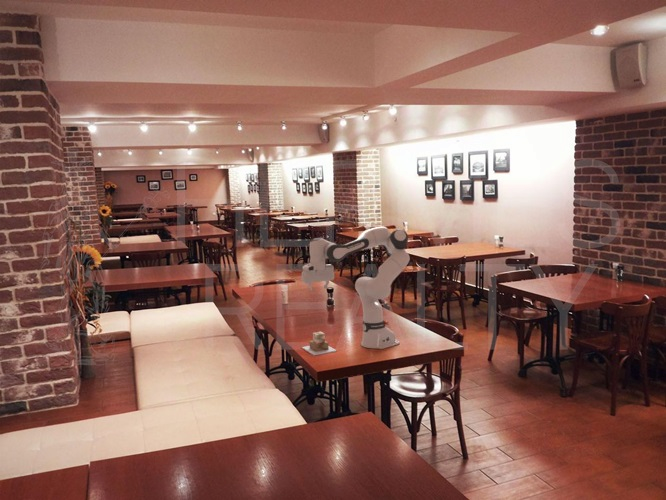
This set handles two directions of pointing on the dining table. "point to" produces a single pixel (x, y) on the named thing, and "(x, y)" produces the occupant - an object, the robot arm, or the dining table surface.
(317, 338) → the ash cube
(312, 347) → the walnut base
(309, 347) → the white flat slab
